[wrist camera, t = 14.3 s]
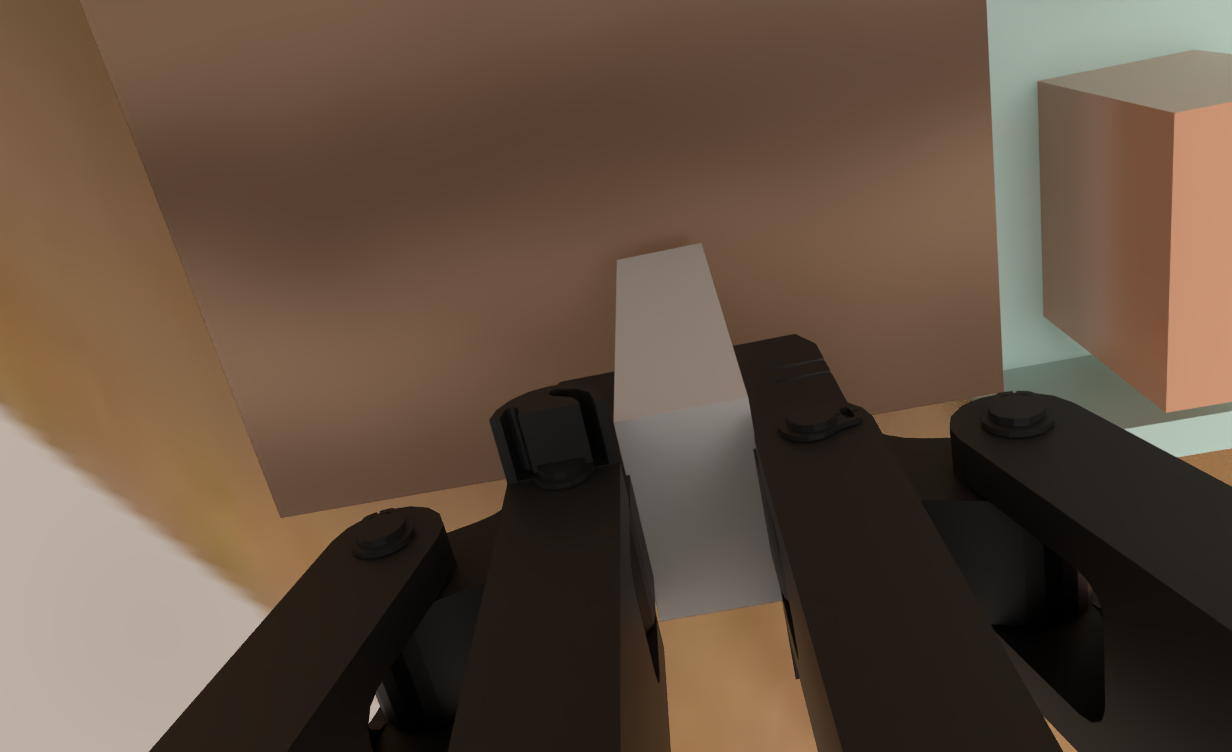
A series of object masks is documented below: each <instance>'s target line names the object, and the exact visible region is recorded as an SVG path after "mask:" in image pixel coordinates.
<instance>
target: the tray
mask: <svg viewBox="0 0 1232 752" xmlns="http://www.w3.org/2000/svg"><path fill="white" fill-rule="evenodd" d="M986 2H987V25H988V47H989V69H990V92H991V114H992V136H993V158H994V181H995V203H996V225H997V248H998V270H999V292H1000V314H1001V337H1002V359H1003V381H1004V392H1007V391H1013V393H1016V391H1031V392H1034V393H1038V394H1046V395H1053V396H1057V397H1060V398H1062V399H1065V400H1068V401H1071V402H1074V403H1076V404H1078V405H1079V406H1081V407H1083V408H1085V409H1087V410H1089V411H1091V412H1093V413H1094V414H1096V415H1098V416H1100V417H1102V418H1104V419H1106V420H1108V421H1109V422H1111V423H1113V424H1115V425H1117V426H1119V427H1121V428H1123V429H1124V430H1126V431H1128V432H1130V433H1132V434H1134V435H1136V436H1138V437H1139V438H1141V439H1143V440H1145V441H1147V442H1149V443H1151V444H1153V445H1154V446H1156V447H1158V448H1160V449H1162V450H1164V451H1166V452H1168V453H1169V454H1171V455H1173V456H1175V457H1182V456H1188V455H1194V454H1200V453H1206V452H1212V451H1218V450H1224V449H1230V448H1232V402H1227V403H1221V404H1215V405H1210V406H1204V407H1198V408H1192V409H1186V410H1180V411H1174V412H1168V413H1165V412H1164V411H1163V410H1162V409H1160V408H1159V407H1158V406H1157V405H1155V404H1154V403H1153V402H1152V401H1150V400H1149V399H1148V398H1146V397H1145V396H1144V395H1143V394H1141V393H1140V392H1139V391H1138V390H1136V389H1135V388H1134V387H1133V386H1131V385H1130V384H1129V383H1127V382H1126V381H1125V380H1124V379H1122V378H1121V377H1120V376H1119V375H1117V374H1116V373H1115V372H1114V371H1112V370H1111V369H1110V368H1108V367H1107V366H1106V365H1105V364H1103V363H1102V362H1101V361H1100V360H1098V359H1097V358H1096V357H1095V356H1093V355H1092V354H1091V353H1089V352H1088V351H1087V350H1086V349H1084V348H1083V347H1082V346H1081V345H1079V344H1078V343H1077V342H1076V341H1074V340H1073V339H1072V338H1070V337H1069V336H1068V335H1067V334H1065V333H1064V332H1063V331H1062V330H1060V329H1059V328H1058V327H1057V326H1055V325H1054V324H1053V323H1051V322H1050V321H1049V320H1048V319H1046V318H1045V317H1044V316H1043V280H1042V241H1041V201H1040V162H1039V122H1038V83H1037V81H1040V80H1045V79H1050V78H1055V77H1060V76H1065V75H1070V74H1075V73H1080V72H1085V71H1090V70H1095V69H1100V68H1105V67H1110V66H1115V65H1120V64H1125V63H1130V62H1135V61H1140V60H1145V59H1150V58H1155V57H1160V56H1165V55H1170V54H1175V53H1180V52H1185V51H1190V50H1200V51H1209V52H1218V53H1226V54H1232V0H986ZM996 394H997V393H995V394H989V395H983V396H977V397H972V398H969V400H970V401H971V402H972V401H974V400H977V399H979V398H982V397H987V396H992V395H996Z"/></svg>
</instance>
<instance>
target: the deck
mask: <svg viewBox="0 0 1232 752" xmlns="http://www.w3.org/2000/svg"><path fill="white" fill-rule="evenodd" d="M79 1H80V3H81V6H82V8H83V11H84V13H85V16H86V19H87V21H88V24H89V26H90V29H91V31H92V34H93V37H94V39H95V42H96V44H97V47H98V49H99V52H100V55H101V57H102V60H103V62H104V65H105V67H106V70H107V73H108V75H109V78H110V80H111V83H112V85H113V88H114V91H115V93H116V96H117V98H118V101H119V103H120V106H121V109H122V111H123V114H124V116H125V119H126V121H127V124H128V127H129V129H130V132H131V134H132V137H133V139H134V142H135V145H136V147H137V150H138V152H139V155H140V157H141V160H142V163H143V165H144V168H145V170H146V173H147V175H148V178H149V181H150V183H151V186H152V188H153V191H154V193H155V196H156V199H157V201H158V204H159V206H160V209H161V211H162V214H163V217H164V219H165V222H166V224H167V227H168V229H169V232H170V235H171V237H172V240H173V242H174V245H175V247H176V250H177V252H178V255H179V258H180V260H181V263H182V265H183V268H184V270H185V273H186V276H187V278H188V281H189V283H190V286H191V288H192V291H193V294H194V296H195V299H196V301H197V304H198V306H199V309H200V312H201V314H202V317H203V319H204V322H205V324H206V327H207V330H208V332H209V335H210V337H211V340H212V342H213V345H214V348H215V350H216V353H217V355H218V358H219V360H220V363H221V366H222V368H223V371H224V373H225V376H226V378H227V381H228V384H229V386H230V389H231V391H232V394H233V396H234V399H235V402H236V404H237V407H238V409H239V412H240V414H241V417H242V420H243V422H244V425H245V427H246V430H247V432H248V435H249V438H250V440H251V443H252V445H253V448H254V450H255V453H256V456H257V458H258V461H259V463H260V466H261V468H262V471H263V474H264V476H265V479H266V481H267V484H268V486H269V489H270V492H271V494H272V497H273V499H274V502H275V504H276V507H277V509H278V512H279V515H280V517H281V518H283V517H289V516H294V515H300V514H306V513H312V512H317V511H323V510H329V509H335V508H340V507H346V506H352V505H358V504H363V503H369V502H375V501H381V500H386V499H392V498H398V497H404V496H409V495H415V494H421V493H426V492H432V491H438V490H444V489H449V488H455V487H461V486H467V485H472V484H478V483H484V482H490V481H495V480H501V479H506V477H505V474H504V470H503V467H502V464H501V460H500V457H499V453H498V450H497V446H496V443H495V439H494V436H493V433H492V429H491V426H490V422H489V420H490V418H491V417H492V415H493V414H494V412H495V411H496V410H497V409H498V408H500V407H501V406H503V405H504V404H505V403H507V402H508V401H510V400H512V399H514V398H516V397H518V396H521V395H523V394H525V393H527V392H530V391H533V390H537V389H541V388H544V387H548V386H553V385H557V384H558V383H559V382H562V381H567V380H572V379H577V378H582V377H588V376H593V375H598V374H603V373H608V372H614V371H615V328H616V279H617V260H619V259H624V258H629V257H634V256H639V255H644V254H649V253H654V252H659V251H664V250H669V249H674V248H678V247H683V246H688V245H693V244H698V243H702V247H703V250H704V253H705V256H706V260H707V263H708V266H709V270H710V273H711V276H712V280H713V283H714V286H715V289H716V293H717V296H718V299H719V303H720V306H721V309H722V313H723V316H724V319H725V323H726V326H727V329H728V332H729V336H730V339H731V342H732V346H734V345H740V344H745V343H750V342H755V341H760V340H765V339H771V338H776V337H781V336H786V335H791V334H797V335H799V336H801V337H803V338H805V339H807V340H809V341H811V342H814V343H816V344H817V346H818V348H819V350H820V352H821V354H822V356H823V357H824V361H826V363H827V365H828V367H829V369H830V371H831V373H832V374H833V376H834V378H835V380H836V382H837V384H838V386H839V387H840V389H841V391H842V393H843V395H844V397H845V399H846V400H847V402H848V403H851V404H854V405H857V406H860V407H863V408H864V409H865V410H866V411H867V412H868V413H870V414H871V415H874V414H880V413H886V412H891V411H897V410H903V409H909V408H914V407H920V406H926V405H932V404H937V403H943V402H949V401H955V400H960V399H966V398H972V397H977V396H983V395H989V394H995V393H1000V392H1004V381H1003V359H1002V337H1001V314H1000V292H999V270H998V248H997V225H996V203H995V181H994V158H993V136H992V114H991V92H990V69H989V47H988V25H987V2H986V0H79Z"/></svg>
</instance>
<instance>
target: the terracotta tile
mask: <svg viewBox="0 0 1232 752" xmlns="http://www.w3.org/2000/svg"><path fill="white" fill-rule="evenodd" d="M1037 83H1038V122H1039V162H1040V201H1041V241H1042V280H1043V316H1044V317H1045V318H1046V319H1048V320H1049V321H1050V322H1051V323H1053V324H1054V325H1055V326H1057V327H1058V328H1059V329H1060V330H1062V331H1063V332H1064V333H1065V334H1067V335H1068V336H1069V337H1070V338H1072V339H1073V340H1074V341H1076V342H1077V343H1078V344H1079V345H1081V346H1082V347H1083V348H1084V349H1086V350H1087V351H1088V352H1089V353H1091V354H1092V355H1093V356H1095V357H1096V358H1097V359H1098V360H1100V361H1101V362H1102V363H1103V364H1105V365H1106V366H1107V367H1108V368H1110V369H1111V370H1112V371H1114V372H1115V373H1116V374H1117V375H1119V376H1120V377H1121V378H1122V379H1124V380H1125V381H1126V382H1127V383H1129V384H1130V385H1131V386H1133V387H1134V388H1135V389H1136V390H1138V391H1139V392H1140V393H1141V394H1143V395H1144V396H1145V397H1146V398H1148V399H1149V400H1150V401H1152V402H1153V403H1154V404H1155V405H1157V406H1158V407H1159V408H1160V409H1162V410H1163V411H1164V412H1165V413H1168V412H1174V411H1180V410H1186V409H1192V408H1198V407H1204V406H1210V405H1215V404H1221V403H1227V402H1232V54H1226V53H1218V52H1209V51H1200V50H1190V51H1185V52H1180V53H1175V54H1170V55H1165V56H1160V57H1155V58H1150V59H1145V60H1140V61H1135V62H1130V63H1125V64H1120V65H1115V66H1110V67H1105V68H1100V69H1095V70H1090V71H1085V72H1080V73H1075V74H1070V75H1065V76H1060V77H1055V78H1050V79H1045V80H1040V81H1037Z"/></svg>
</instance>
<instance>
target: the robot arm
mask: <svg viewBox="0 0 1232 752" xmlns="http://www.w3.org/2000/svg"><path fill="white" fill-rule="evenodd" d="M489 422H490V426H491V429H492V433H493V436H494V439H495V443H496V446H497V450H498V453H499V457H500V460H501V464H502V467H503V470H504V474H505V477H506V481H507V489H506V493H505V498H504V502H503V507H502V510H501V511H499V512H497V513H496V514H494V515H492V516H490V517H488V518H485V519H483V520H481V521H478V522H476V523H473V524H471V525H468V526H465V527H462V528H460V529H457V530H454V531H451V532H449V533H446V530H445V527H444V524H443V522H442V519H441V516H440V514H439V513H437V512H435V511H433V510H431V509H429V508H425V507H411V506H410V507H404V508H397V509H394V508H389V509H386V510H382V511H380V513H379V514H377V512H376V513H373V514H371V515H368V516H366V517H365V518H363V520H362V521H360V522H358V523H356V524H354V525H353V526H351V527H349V528H347V529H346V530H345V531H344V532H343V533H341V534H340V535H339V536H338V537H337V538H336V539H334V540H333V541H332V542H331V543H330V545H329V546H328V547H327V548H326V549H325V550H324V551H323V553H322V554H321V555H320V556H319V557H318V558H317V559H316V561H315V562H314V563H313V564H312V565H311V566H310V567H309V569H308V570H307V571H306V572H305V573H304V574H303V576H302V577H301V578H300V579H299V580H298V581H297V582H296V584H295V585H294V586H293V587H292V588H291V589H290V590H289V592H288V593H287V594H286V595H285V596H284V597H283V598H282V600H281V601H280V602H279V603H278V604H277V605H276V606H275V608H274V609H273V610H272V611H271V612H270V613H269V615H268V616H267V617H266V618H265V619H264V620H263V621H262V623H261V624H260V625H259V626H258V627H257V628H256V629H255V631H254V632H253V633H252V634H251V635H250V636H249V637H248V639H247V640H246V641H245V642H244V643H243V644H242V645H241V647H240V648H239V649H238V650H237V651H236V652H235V654H234V655H233V656H232V657H231V658H230V659H229V660H228V662H227V663H226V664H225V665H224V666H223V667H222V668H221V670H220V671H219V672H218V673H217V674H216V675H215V676H214V678H213V679H212V680H211V681H210V682H209V683H208V684H207V686H206V687H205V688H204V689H203V690H202V691H201V693H200V694H199V695H198V696H197V697H196V698H195V699H194V701H193V702H192V703H191V704H190V705H189V706H188V708H187V709H186V710H185V711H184V712H183V713H182V715H180V717H179V718H178V719H177V720H176V721H175V722H174V724H173V725H172V726H171V727H170V728H169V729H168V730H167V732H166V733H165V734H164V735H163V736H162V737H161V738H160V740H159V741H158V742H157V743H156V744H155V745H154V746H153V748H152V749H151V750H150V751H149V752H671V747H670V732H669V717H668V702H667V687H666V672H665V657H664V646H663V642H662V638H661V634H660V629H659V625H658V621H657V617H656V610H655V601H656V605H657V609H658V614H659V618H660V621H666V620H672V619H678V618H683V617H689V616H695V615H701V614H707V613H713V612H719V611H725V610H731V609H737V608H743V607H749V606H755V605H760V604H766V603H772V602H778V601H782V602H783V607H784V613H785V619H786V625H787V631H788V636H789V642H790V648H791V654H792V660H793V665H794V671H795V677H796V679H800V681H801V685H802V689H803V693H804V697H805V701H806V705H807V709H808V713H809V717H810V721H811V725H812V729H813V733H814V737H815V741H816V745H817V749H818V752H1063V751H1062V749H1061V747H1060V745H1059V743H1058V742H1057V740H1056V738H1055V736H1054V735H1053V733H1052V731H1051V729H1050V728H1049V726H1048V724H1047V722H1046V721H1045V719H1044V717H1045V718H1046V719H1047V720H1048V721H1049V722H1050V723H1051V724H1052V725H1053V726H1054V727H1055V728H1056V730H1057V731H1058V732H1059V733H1060V734H1061V735H1062V736H1063V737H1064V738H1065V739H1066V740H1067V741H1068V742H1069V743H1070V744H1071V745H1072V746H1073V747H1074V748H1075V749H1076V750H1077V751H1078V752H1232V487H1231V486H1229V485H1228V484H1226V483H1224V482H1222V481H1220V480H1218V479H1216V478H1214V477H1213V476H1211V475H1209V474H1207V473H1205V472H1203V471H1201V470H1199V469H1198V468H1196V467H1194V466H1192V465H1190V464H1188V463H1186V462H1184V461H1183V460H1181V459H1179V458H1177V457H1175V456H1173V455H1171V454H1169V453H1168V452H1166V451H1164V450H1162V449H1160V448H1158V447H1156V446H1154V445H1153V444H1151V443H1149V442H1147V441H1145V440H1143V439H1141V438H1139V437H1138V436H1136V435H1134V434H1132V433H1130V432H1128V431H1126V430H1124V429H1123V428H1121V427H1119V426H1117V425H1115V424H1113V423H1111V422H1109V421H1108V420H1106V419H1104V418H1102V417H1100V416H1098V415H1096V414H1094V413H1093V412H1091V411H1089V410H1087V409H1085V408H1083V407H1081V406H1079V405H1078V404H1076V403H1074V402H1071V401H1068V400H1065V399H1062V398H1060V397H1057V396H1053V395H1046V394H1038V393H1034V392H1031V391H1016V393H1013V391H1007V392H1000V393H997V394H996V395H992V396H987V397H982V398H979V399H977V400H974V401H972V402H970V403H967V404H965V405H963V406H961V407H960V408H959V409H958V410H957V411H956V412H955V413H954V414H953V415H952V416H951V422H950V436H951V438H902V437H896V436H890V435H885V434H882V432H881V430H880V429H879V427H878V425H877V423H876V422H875V420H874V418H873V416H872V415H871V414H870V413H868V412H867V411H866V410H865V409H864V408H863V407H860V406H857V405H854V404H851V403H848V402H847V400H846V399H845V397H844V395H843V393H842V391H841V389H840V387H839V386H838V384H837V382H836V380H835V378H834V376H833V374H832V373H831V371H830V369H829V367H828V365H827V363H826V361H824V357H823V356H822V354H821V352H820V350H819V348H818V346H817V344H816V343H814V342H811V341H809V340H807V339H805V338H803V337H801V336H799V335H797V334H791V335H786V336H781V337H776V338H771V339H765V340H760V341H755V342H750V343H745V344H740V345H734V346H732V342H731V339H730V336H729V332H728V329H727V326H726V323H725V319H724V316H723V313H722V309H721V306H720V303H719V299H718V296H717V293H716V289H715V286H714V283H713V280H712V276H711V273H710V270H709V266H708V263H707V260H706V256H705V253H704V250H703V247H702V243H698V244H693V245H688V246H683V247H678V248H674V249H669V250H664V251H659V252H654V253H649V254H644V255H639V256H634V257H629V258H624V259H619V260H617V279H616V328H615V371H614V372H608V373H603V374H598V375H593V376H588V377H582V378H577V379H572V380H567V381H562V382H559V383H558V384H557V385H553V386H548V387H544V388H541V389H537V390H533V391H530V392H527V393H525V394H523V395H521V396H518V397H516V398H514V399H512V400H510V401H508V402H507V403H505V404H504V405H503V406H501V407H500V408H498V409H497V410H496V411H495V412H494V414H493V415H492V417H491V418H490V420H489ZM375 694H376V697H377V699H378V702H379V704H380V708H379V709H378V711H377V713H376V714H375V716H374V717H373V719H372V721H371V722H370V723H369V724H368V722H369V714H370V706H371V703H372V701H373V699H374V696H375ZM1043 716H1044V717H1043Z"/></svg>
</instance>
